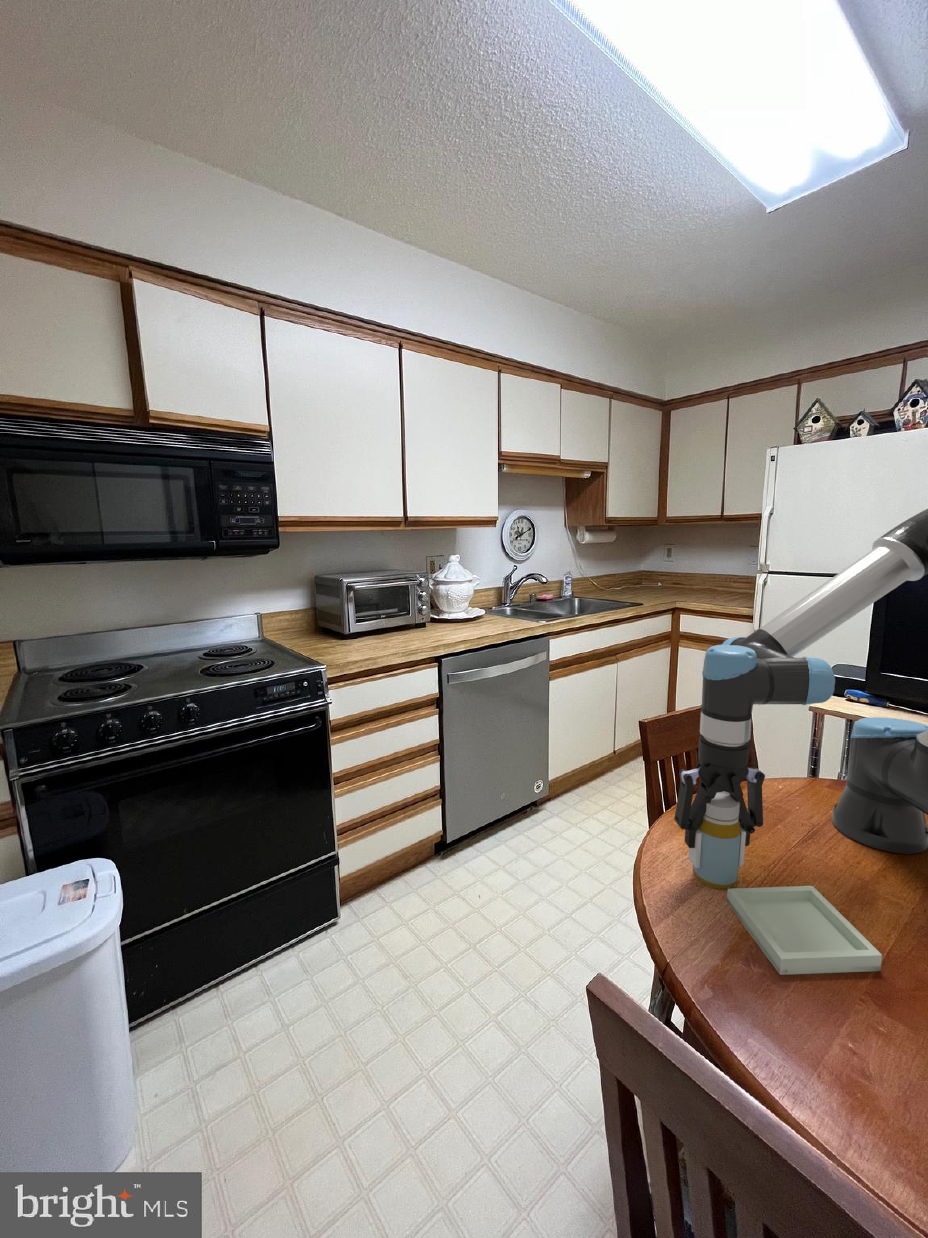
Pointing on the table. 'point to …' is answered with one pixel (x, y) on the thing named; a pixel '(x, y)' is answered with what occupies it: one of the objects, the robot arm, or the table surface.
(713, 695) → the robot arm
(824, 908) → the pale green square tray
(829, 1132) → the table surface
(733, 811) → the bottle
